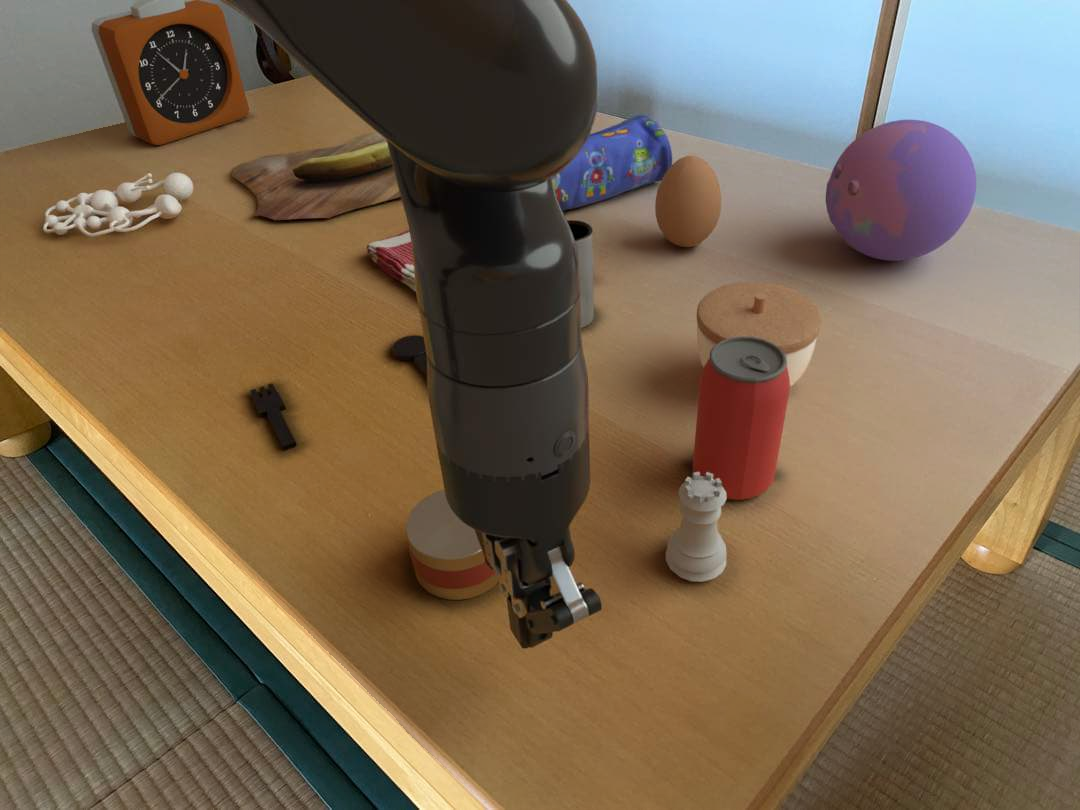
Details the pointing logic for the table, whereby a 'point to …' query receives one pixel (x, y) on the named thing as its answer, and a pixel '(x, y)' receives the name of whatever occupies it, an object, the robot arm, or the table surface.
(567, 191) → the pencil case
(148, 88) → the alarm clock
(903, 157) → the decorative ball
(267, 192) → the cutting board
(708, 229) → the egg
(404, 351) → the spoon
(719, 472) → the beer can
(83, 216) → the tangled rod sculpture
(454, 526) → the tin can
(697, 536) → the rook chess piece
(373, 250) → the dish towel
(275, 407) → the fork
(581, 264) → the grey hollow cylinder
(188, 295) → the table surface
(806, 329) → the trinket box
